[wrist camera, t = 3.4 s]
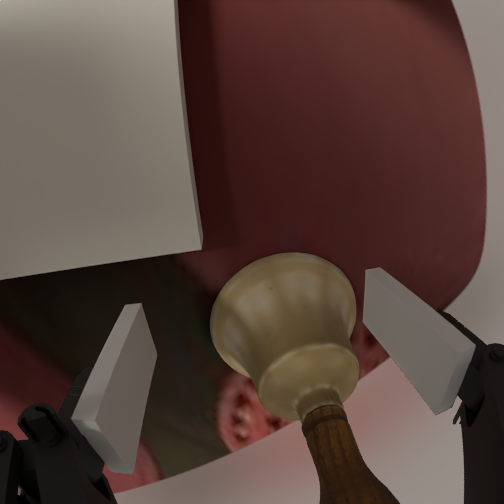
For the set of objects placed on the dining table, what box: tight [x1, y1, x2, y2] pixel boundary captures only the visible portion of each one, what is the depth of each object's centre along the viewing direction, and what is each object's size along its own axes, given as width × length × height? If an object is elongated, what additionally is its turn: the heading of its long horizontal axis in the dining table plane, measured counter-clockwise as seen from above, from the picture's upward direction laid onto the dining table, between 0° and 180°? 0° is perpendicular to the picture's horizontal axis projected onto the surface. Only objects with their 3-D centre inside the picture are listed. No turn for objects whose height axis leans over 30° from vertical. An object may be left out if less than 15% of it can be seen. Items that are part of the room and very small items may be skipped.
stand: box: [0, 0, 203, 280], centre depth 10 cm, size 16×16×2 cm
